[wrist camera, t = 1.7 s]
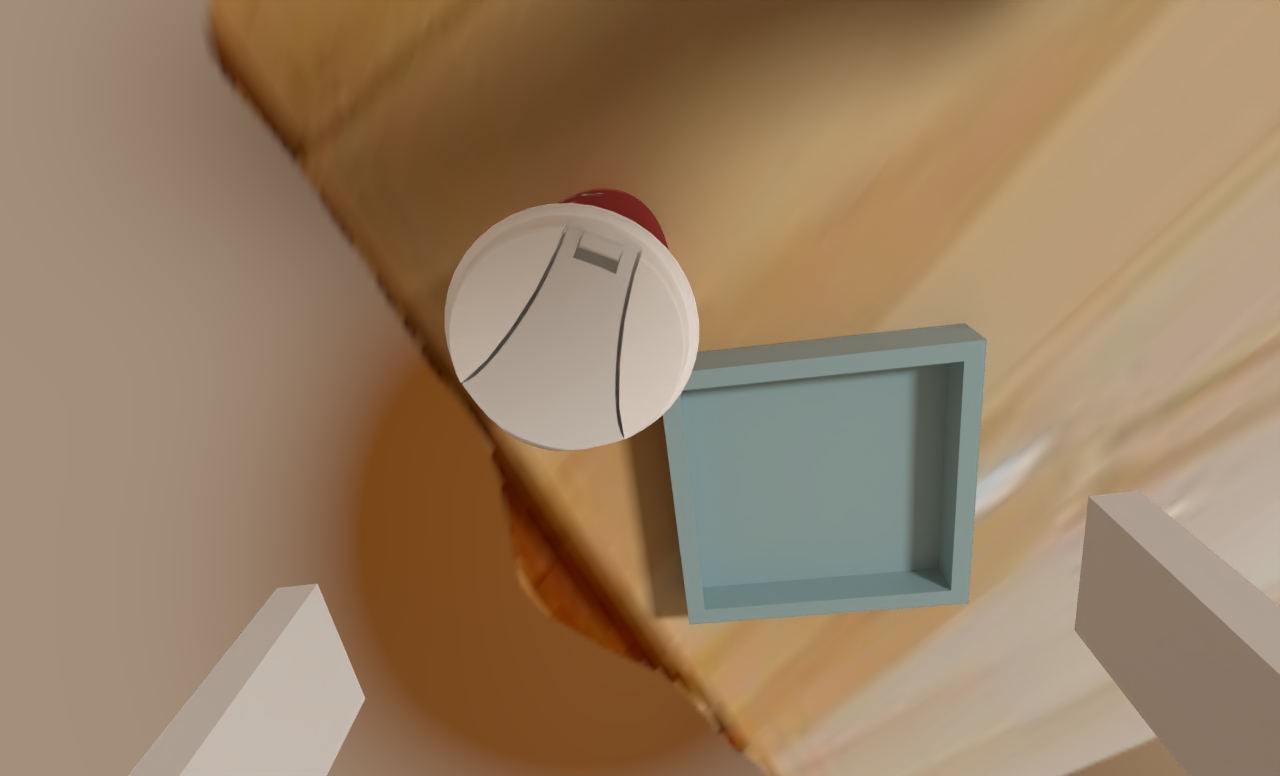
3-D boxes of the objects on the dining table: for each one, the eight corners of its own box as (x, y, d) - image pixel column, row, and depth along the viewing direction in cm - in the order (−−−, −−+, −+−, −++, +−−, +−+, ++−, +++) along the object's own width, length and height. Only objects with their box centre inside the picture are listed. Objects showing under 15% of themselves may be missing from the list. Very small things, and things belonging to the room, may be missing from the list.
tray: (658, 356, 37) (657, 374, 34) (965, 323, 36) (986, 339, 33) (688, 595, 43) (689, 624, 41) (950, 574, 42) (968, 603, 39)
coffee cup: (552, 137, 33) (469, 166, 19) (712, 199, 34) (744, 270, 20) (504, 297, 36) (403, 422, 22) (651, 350, 37) (643, 502, 23)
